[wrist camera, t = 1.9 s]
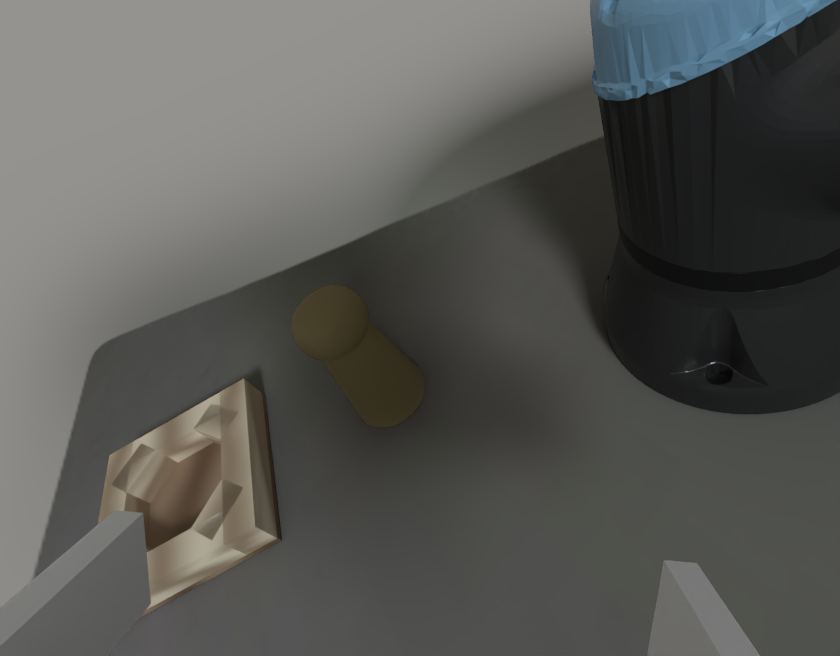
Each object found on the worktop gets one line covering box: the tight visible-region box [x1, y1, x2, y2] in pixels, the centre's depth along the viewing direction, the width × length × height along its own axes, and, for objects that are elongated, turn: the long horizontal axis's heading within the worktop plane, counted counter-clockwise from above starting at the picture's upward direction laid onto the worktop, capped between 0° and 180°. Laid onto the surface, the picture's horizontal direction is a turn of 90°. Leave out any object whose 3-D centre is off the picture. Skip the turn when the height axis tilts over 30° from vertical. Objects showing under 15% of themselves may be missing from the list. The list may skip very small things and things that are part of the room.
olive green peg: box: [291, 285, 426, 428], centre depth 36 cm, size 6×6×11 cm
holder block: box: [98, 379, 281, 617], centre depth 39 cm, size 14×14×3 cm
